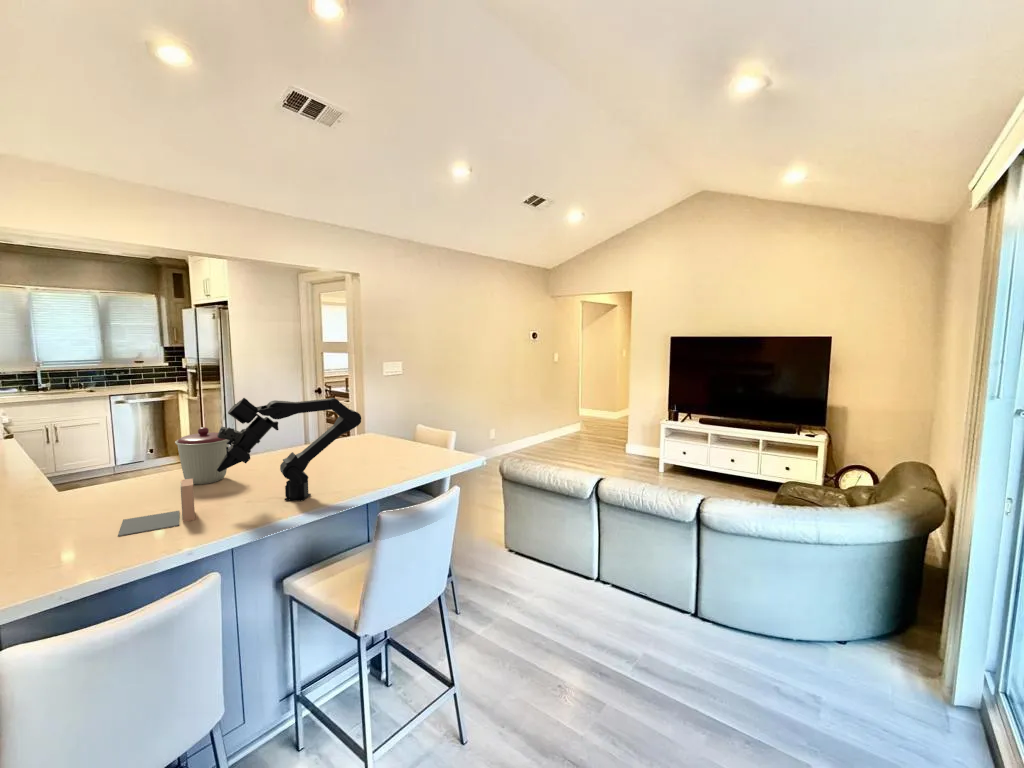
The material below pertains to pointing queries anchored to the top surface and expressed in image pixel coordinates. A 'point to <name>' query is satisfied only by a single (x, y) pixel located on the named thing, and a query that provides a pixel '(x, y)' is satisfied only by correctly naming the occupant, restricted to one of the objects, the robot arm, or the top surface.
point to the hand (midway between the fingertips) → (218, 470)
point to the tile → (187, 500)
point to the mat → (149, 523)
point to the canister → (202, 456)
